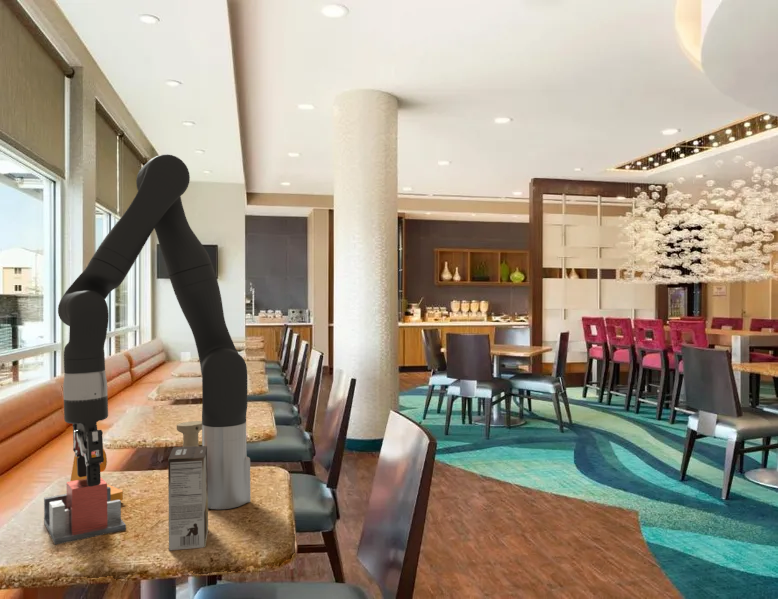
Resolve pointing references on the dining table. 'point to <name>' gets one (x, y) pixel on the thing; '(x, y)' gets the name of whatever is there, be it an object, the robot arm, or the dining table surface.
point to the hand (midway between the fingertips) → (88, 480)
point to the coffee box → (188, 497)
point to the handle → (190, 432)
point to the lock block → (87, 505)
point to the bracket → (115, 492)
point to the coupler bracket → (60, 519)
